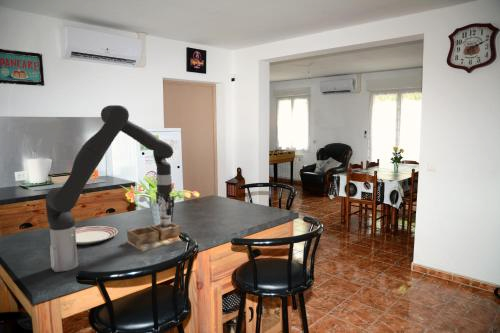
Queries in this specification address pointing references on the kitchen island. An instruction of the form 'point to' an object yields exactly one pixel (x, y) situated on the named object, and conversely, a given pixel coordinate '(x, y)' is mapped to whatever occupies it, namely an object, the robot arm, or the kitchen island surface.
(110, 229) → the dinner plate
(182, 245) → the kitchen island surface
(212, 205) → the kitchen island surface
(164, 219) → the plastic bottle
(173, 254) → the kitchen island surface
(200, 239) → the kitchen island surface
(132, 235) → the socket board
